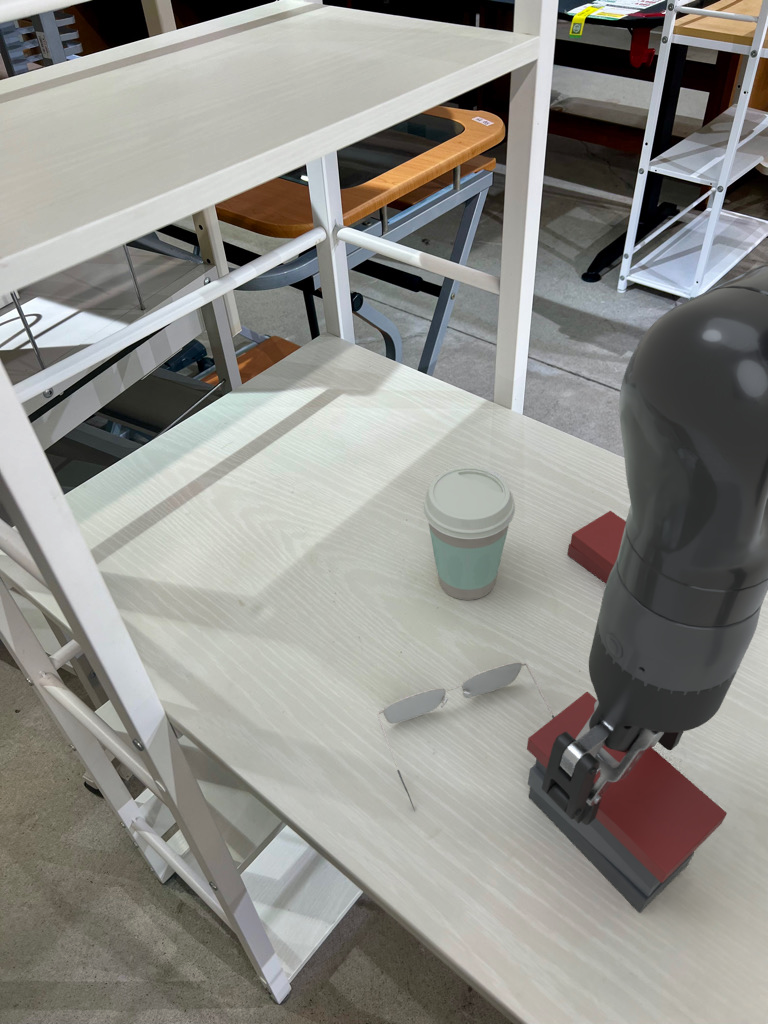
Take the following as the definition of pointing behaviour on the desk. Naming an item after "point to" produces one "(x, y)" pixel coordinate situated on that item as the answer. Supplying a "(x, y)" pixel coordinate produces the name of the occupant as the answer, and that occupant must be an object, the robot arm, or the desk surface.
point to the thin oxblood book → (641, 799)
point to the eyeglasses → (434, 697)
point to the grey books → (602, 849)
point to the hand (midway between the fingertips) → (621, 773)
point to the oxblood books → (598, 544)
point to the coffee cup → (468, 528)
